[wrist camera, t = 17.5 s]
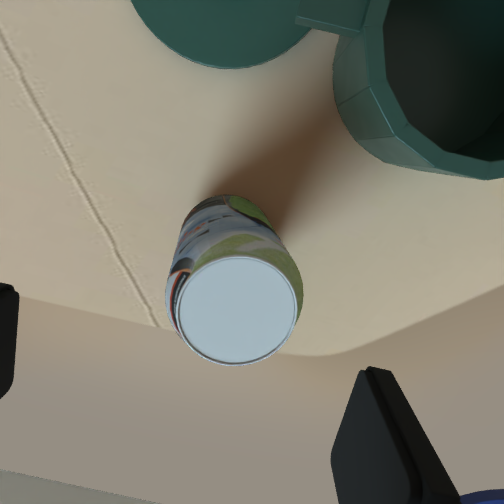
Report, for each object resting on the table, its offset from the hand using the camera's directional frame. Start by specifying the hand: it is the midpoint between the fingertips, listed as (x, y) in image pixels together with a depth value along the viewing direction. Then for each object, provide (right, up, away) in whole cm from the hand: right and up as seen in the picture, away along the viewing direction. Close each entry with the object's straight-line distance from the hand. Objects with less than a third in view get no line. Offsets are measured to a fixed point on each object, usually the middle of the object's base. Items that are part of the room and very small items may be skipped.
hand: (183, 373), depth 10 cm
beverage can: (+1, +4, +17) cm, 17 cm away
